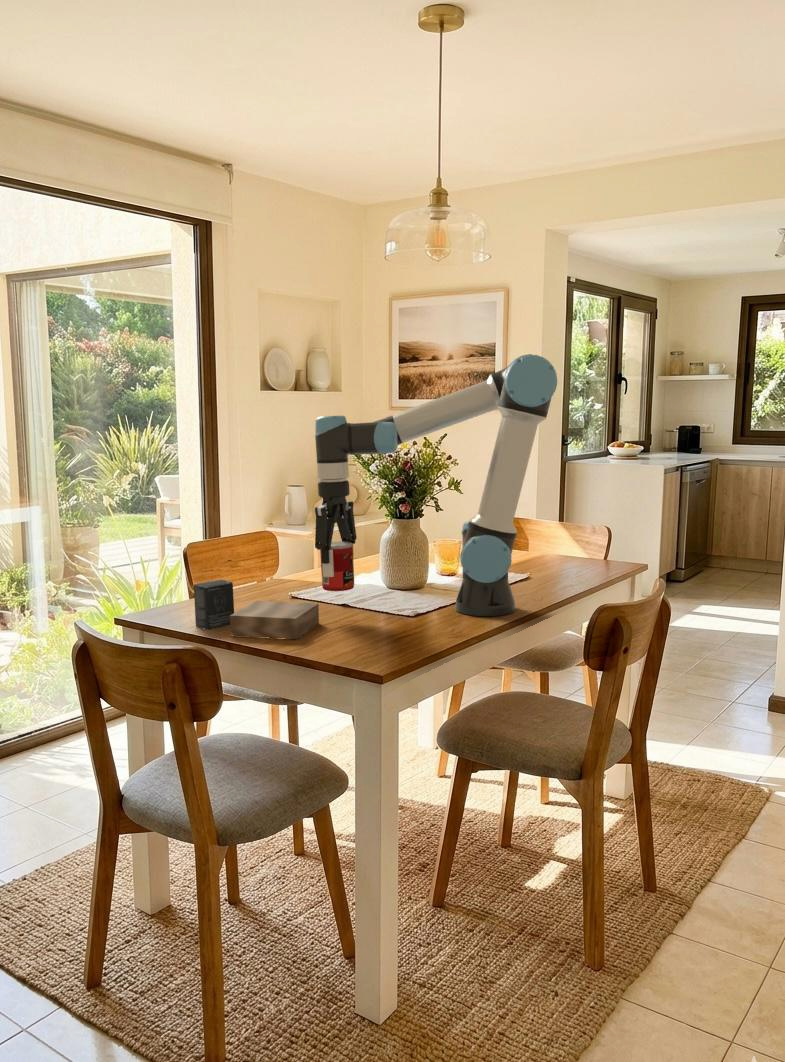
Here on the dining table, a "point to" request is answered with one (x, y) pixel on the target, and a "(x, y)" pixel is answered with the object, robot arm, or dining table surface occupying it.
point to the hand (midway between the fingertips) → (337, 573)
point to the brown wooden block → (275, 619)
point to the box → (213, 603)
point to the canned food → (340, 568)
